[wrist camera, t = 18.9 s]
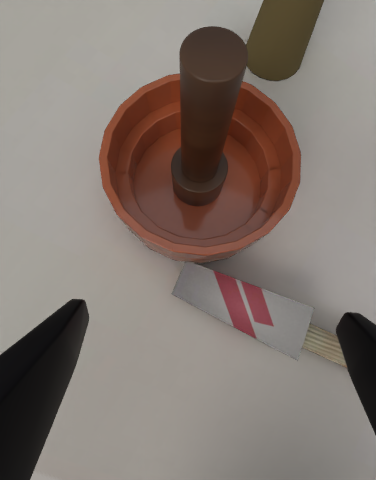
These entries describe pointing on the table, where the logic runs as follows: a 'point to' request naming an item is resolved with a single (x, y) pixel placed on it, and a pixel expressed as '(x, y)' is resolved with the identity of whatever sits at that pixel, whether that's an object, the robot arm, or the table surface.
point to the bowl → (234, 188)
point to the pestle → (206, 111)
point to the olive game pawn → (281, 37)
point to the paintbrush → (257, 312)
